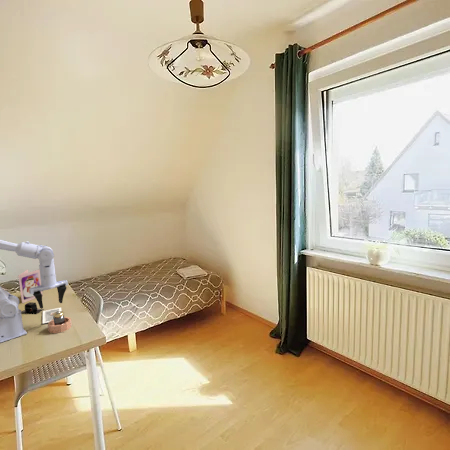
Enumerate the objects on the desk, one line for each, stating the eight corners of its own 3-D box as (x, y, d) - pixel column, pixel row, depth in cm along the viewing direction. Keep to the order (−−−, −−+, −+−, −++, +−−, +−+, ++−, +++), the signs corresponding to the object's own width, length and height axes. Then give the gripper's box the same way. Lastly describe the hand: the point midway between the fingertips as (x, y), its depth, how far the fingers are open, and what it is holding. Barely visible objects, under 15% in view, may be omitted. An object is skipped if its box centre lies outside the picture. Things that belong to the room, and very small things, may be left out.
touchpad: (42, 325, 138) (42, 321, 138) (43, 313, 151) (42, 309, 151) (62, 321, 142) (62, 316, 142) (61, 309, 155) (60, 305, 155)
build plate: (14, 315, 150) (12, 306, 150) (25, 308, 157) (24, 300, 157) (37, 316, 148) (36, 307, 148) (48, 309, 156) (47, 300, 155)
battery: (56, 329, 132) (54, 314, 131) (53, 326, 135) (51, 312, 134) (66, 326, 134) (64, 311, 133) (63, 323, 137) (61, 309, 136)
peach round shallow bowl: (53, 335, 129) (52, 328, 128) (45, 328, 135) (44, 322, 134) (74, 327, 135) (74, 320, 135) (66, 321, 141) (66, 315, 140)
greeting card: (23, 303, 163) (19, 275, 160) (14, 301, 166) (10, 274, 163) (43, 295, 173) (40, 269, 171) (34, 294, 176) (31, 268, 174)
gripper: (31, 281, 126) (35, 313, 128) (69, 272, 136) (72, 302, 138) (26, 277, 131) (30, 308, 133) (63, 269, 141) (66, 298, 143)
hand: (51, 305), depth 136 cm, fingers open, 7 cm apart
